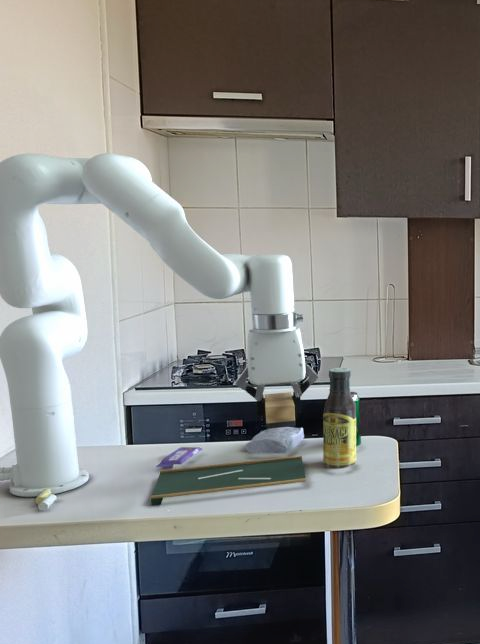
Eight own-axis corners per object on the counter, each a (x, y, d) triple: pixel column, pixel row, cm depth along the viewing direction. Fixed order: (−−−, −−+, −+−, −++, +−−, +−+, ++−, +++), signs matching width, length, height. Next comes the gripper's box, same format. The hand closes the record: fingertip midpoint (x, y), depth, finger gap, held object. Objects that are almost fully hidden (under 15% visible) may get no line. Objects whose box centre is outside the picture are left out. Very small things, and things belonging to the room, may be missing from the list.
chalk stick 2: (39, 501, 126) (49, 504, 127) (48, 492, 130) (57, 495, 130) (36, 509, 126) (46, 512, 127) (45, 500, 130) (54, 503, 130)
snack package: (179, 462, 145) (154, 462, 145) (180, 471, 145) (155, 471, 145) (205, 443, 156) (182, 443, 156) (206, 452, 156) (183, 452, 157)
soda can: (335, 453, 156) (332, 397, 154) (338, 445, 161) (336, 391, 159) (359, 452, 156) (357, 396, 154) (362, 445, 161) (360, 390, 159)
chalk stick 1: (36, 496, 129) (46, 497, 129) (43, 487, 132) (52, 489, 133) (34, 504, 129) (43, 505, 129) (41, 495, 133) (50, 497, 133)
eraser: (266, 429, 134) (265, 407, 134) (265, 414, 144) (264, 394, 143) (295, 426, 136) (294, 404, 135) (292, 412, 146) (291, 392, 145)
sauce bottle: (318, 473, 144) (313, 371, 141) (332, 462, 150) (328, 365, 147) (349, 475, 142) (345, 373, 139) (363, 464, 148) (359, 366, 145)
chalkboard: (151, 505, 128) (150, 496, 128) (160, 478, 142) (159, 470, 141) (307, 487, 136) (306, 479, 136) (302, 463, 149) (301, 455, 149)
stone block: (245, 466, 153) (292, 457, 152) (239, 444, 152) (286, 434, 152) (264, 450, 165) (308, 441, 164) (259, 429, 164) (303, 420, 163)
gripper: (319, 316, 143) (324, 409, 146) (225, 322, 138) (232, 417, 141) (323, 322, 136) (328, 418, 139) (223, 328, 131) (231, 428, 134)
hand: (279, 417), depth 140 cm, fingers closed on eraser, 5 cm apart
